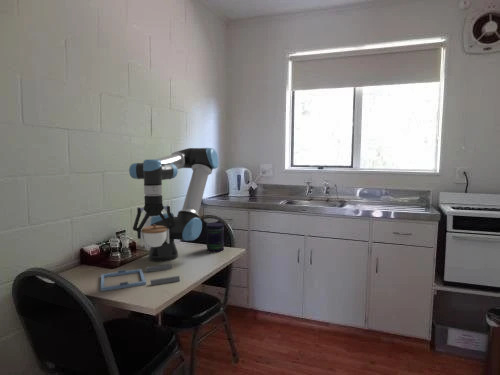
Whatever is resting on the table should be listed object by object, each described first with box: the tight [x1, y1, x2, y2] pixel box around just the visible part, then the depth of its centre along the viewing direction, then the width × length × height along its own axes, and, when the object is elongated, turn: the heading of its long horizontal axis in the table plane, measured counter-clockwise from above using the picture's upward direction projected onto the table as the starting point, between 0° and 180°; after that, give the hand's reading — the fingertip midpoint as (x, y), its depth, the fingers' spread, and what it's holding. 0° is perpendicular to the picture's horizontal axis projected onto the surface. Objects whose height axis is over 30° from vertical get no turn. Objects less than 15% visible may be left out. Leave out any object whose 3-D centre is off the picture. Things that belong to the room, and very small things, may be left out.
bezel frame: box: [100, 268, 147, 292], centre depth 147 cm, size 17×17×2 cm
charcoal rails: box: [145, 263, 181, 286], centre depth 153 cm, size 12×18×2 cm, turn 23°
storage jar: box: [205, 221, 225, 253], centre depth 192 cm, size 10×10×15 cm
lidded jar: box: [141, 224, 167, 247], centre depth 150 cm, size 11×11×9 cm
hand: (155, 244), depth 150 cm, fingers closed on lidded jar, 11 cm apart
